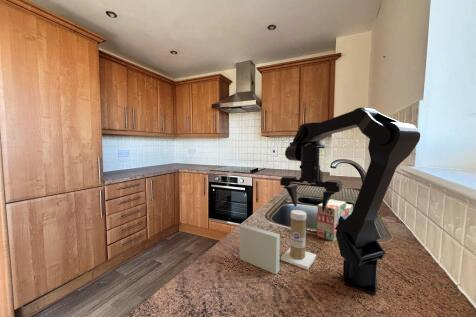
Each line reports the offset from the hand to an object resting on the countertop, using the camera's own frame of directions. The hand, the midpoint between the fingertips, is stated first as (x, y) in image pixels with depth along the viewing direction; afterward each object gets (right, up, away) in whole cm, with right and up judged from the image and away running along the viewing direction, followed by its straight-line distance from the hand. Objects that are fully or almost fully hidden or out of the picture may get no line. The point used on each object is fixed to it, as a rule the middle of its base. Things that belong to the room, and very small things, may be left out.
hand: (308, 208), depth 65 cm
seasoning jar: (-6, -13, -6) cm, 15 cm away
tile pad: (-5, -13, -6) cm, 16 cm away
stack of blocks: (+16, -13, +14) cm, 25 cm away
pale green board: (-18, -13, -10) cm, 24 cm away
